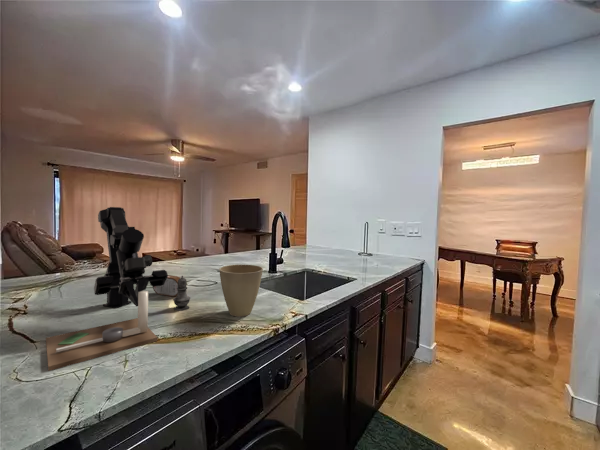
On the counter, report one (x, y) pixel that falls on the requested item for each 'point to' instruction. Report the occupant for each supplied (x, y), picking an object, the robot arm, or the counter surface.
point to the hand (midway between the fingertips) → (138, 305)
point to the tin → (168, 287)
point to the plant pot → (240, 287)
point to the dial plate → (93, 349)
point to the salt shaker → (181, 296)
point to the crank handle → (118, 332)
